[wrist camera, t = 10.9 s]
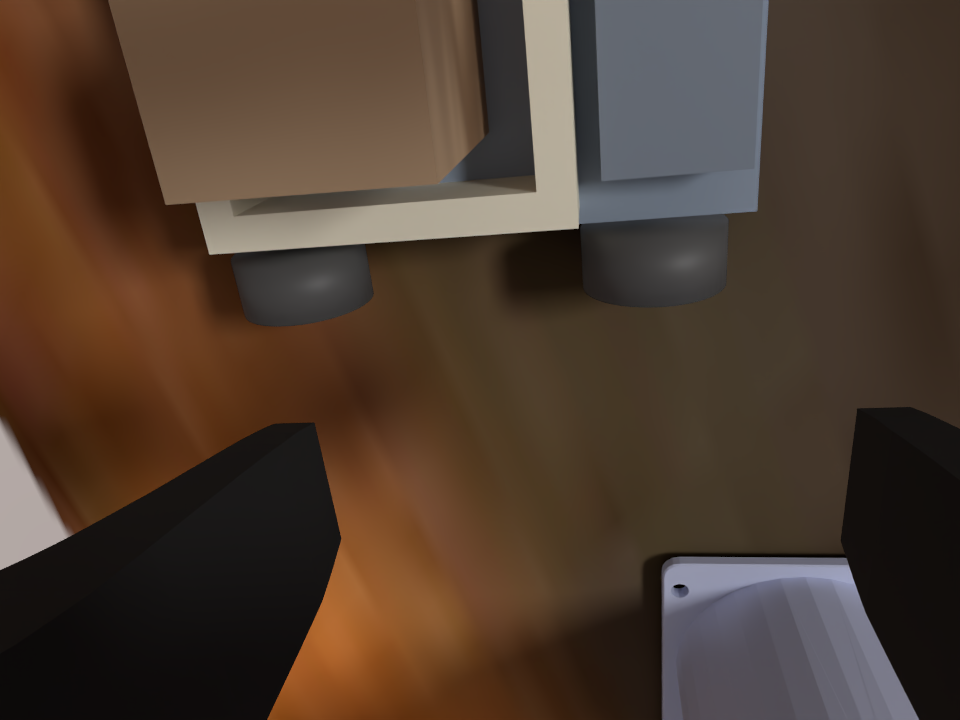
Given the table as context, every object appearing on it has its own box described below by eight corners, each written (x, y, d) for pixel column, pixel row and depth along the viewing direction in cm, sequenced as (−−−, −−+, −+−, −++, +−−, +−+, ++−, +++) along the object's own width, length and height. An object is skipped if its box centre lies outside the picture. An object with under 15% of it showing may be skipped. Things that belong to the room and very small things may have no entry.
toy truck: (743, 256, 17) (774, 301, 14) (252, 286, 20) (194, 330, 17) (773, -385, 13) (829, -510, 10) (118, -249, 15) (4, -317, 12)
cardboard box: (489, 132, 16) (437, 184, 10) (303, 148, 16) (165, 205, 11) (468, -98, 14) (393, -181, 9) (261, -68, 15) (72, -127, 9)
